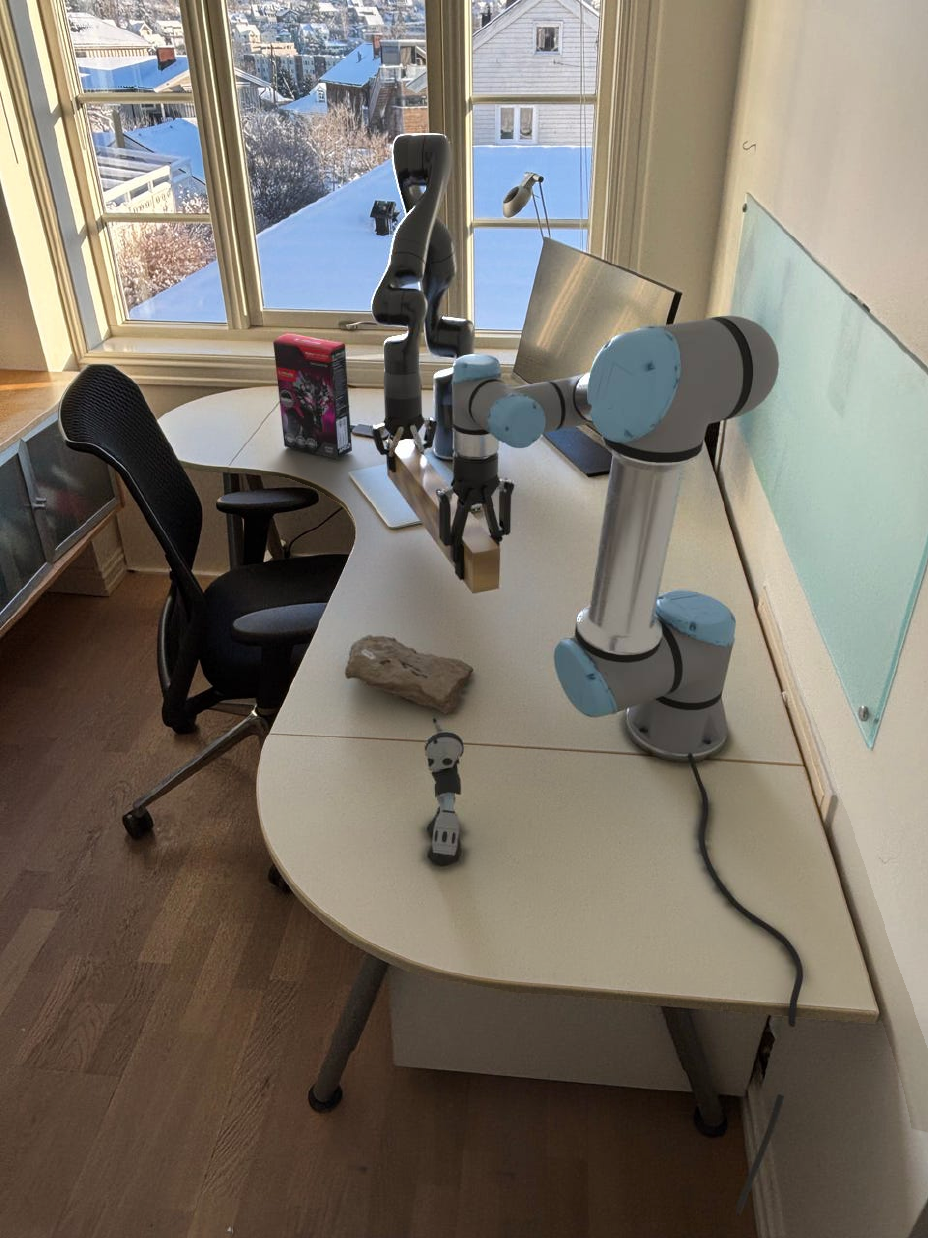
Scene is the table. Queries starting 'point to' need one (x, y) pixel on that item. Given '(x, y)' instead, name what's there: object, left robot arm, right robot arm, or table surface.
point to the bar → (420, 493)
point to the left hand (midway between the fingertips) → (405, 468)
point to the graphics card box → (313, 395)
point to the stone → (408, 672)
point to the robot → (444, 794)
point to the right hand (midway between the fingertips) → (474, 573)
